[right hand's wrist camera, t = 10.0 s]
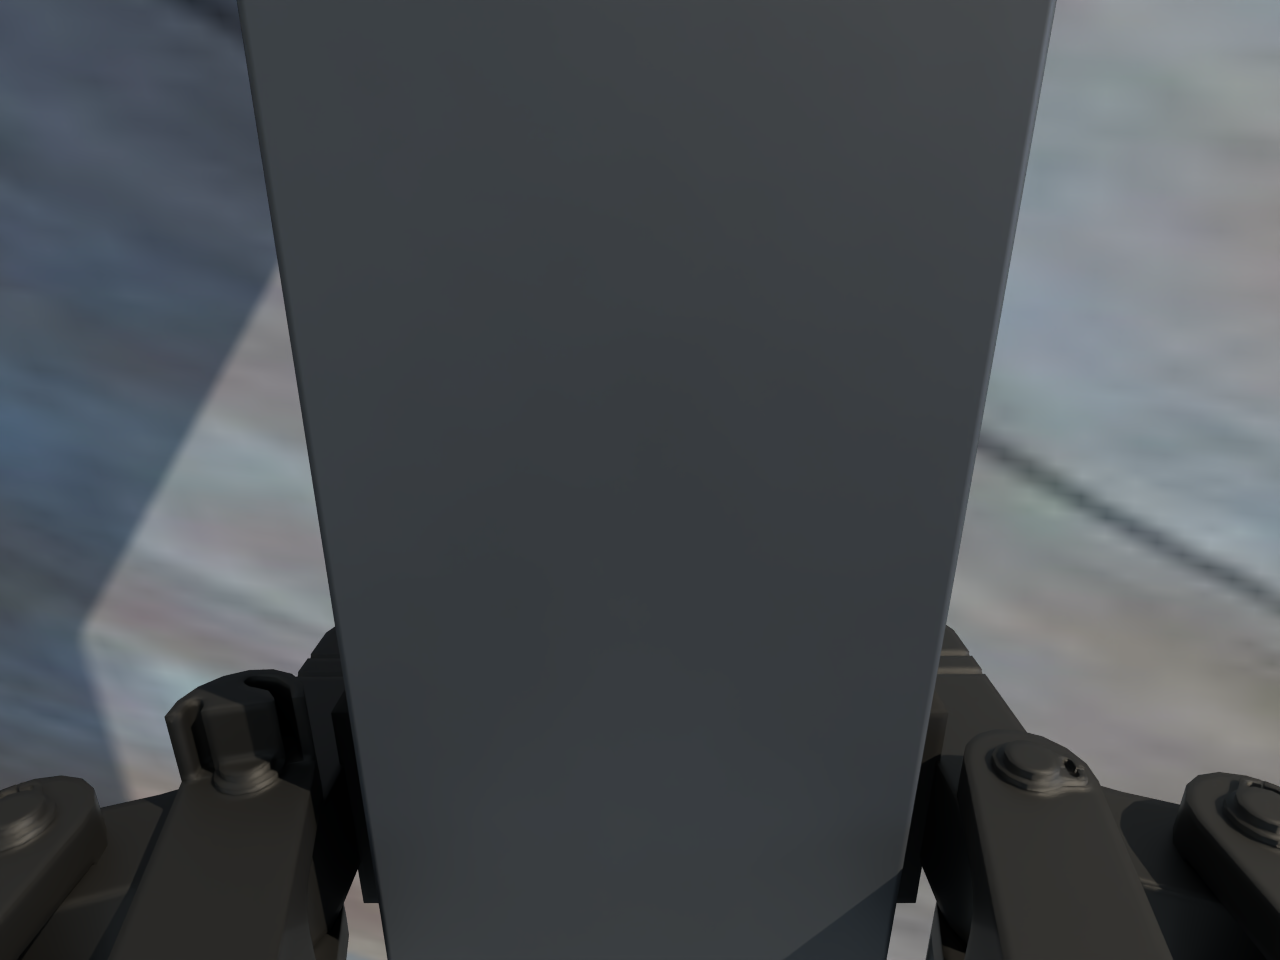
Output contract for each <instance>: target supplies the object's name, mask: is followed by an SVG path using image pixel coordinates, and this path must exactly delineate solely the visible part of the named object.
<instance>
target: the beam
mask: <svg viewBox="0 0 1280 960" xmlns="http://www.w3.org/2000/svg"><path fill="white" fill-rule="evenodd" d="M1056 1H1057V0H237V5H238V11H239V17H240V24H241V30H242V37H243V43H244V49H245V56H246V62H247V68H248V75H249V81H250V87H251V94H252V100H253V107H254V113H255V119H256V126H257V132H258V138H259V145H260V151H261V157H262V164H263V170H264V176H265V183H266V189H267V196H268V202H269V208H270V215H271V221H272V227H273V234H274V240H275V246H276V253H277V259H278V266H279V272H280V278H281V285H282V291H283V297H284V304H285V310H286V316H287V323H288V329H289V335H290V342H291V348H292V355H293V361H294V367H295V374H296V380H297V386H298V393H299V399H300V405H301V412H302V418H303V424H304V431H305V437H306V444H307V450H308V456H309V463H310V469H311V475H312V482H313V488H314V494H315V501H316V507H317V514H318V520H319V526H320V533H321V539H322V545H323V552H324V558H325V564H326V571H327V577H328V583H329V590H330V596H331V603H332V609H333V615H334V622H335V628H336V634H337V641H338V647H339V653H340V660H341V666H342V672H343V679H344V685H345V692H346V698H347V704H348V711H349V717H350V723H351V730H352V736H353V742H354V749H355V755H356V762H357V768H358V774H359V781H360V787H361V793H362V800H363V806H364V812H365V819H366V825H367V831H368V838H369V844H370V851H371V857H372V863H373V870H374V876H375V882H376V889H377V895H378V901H379V908H380V914H381V920H382V927H383V933H384V940H385V946H386V952H387V959H388V960H886V959H887V953H888V948H889V942H890V937H891V931H892V925H893V920H894V914H895V908H896V903H897V897H898V891H899V886H900V880H901V875H902V869H903V863H904V858H905V852H906V846H907V841H908V835H909V829H910V824H911V818H912V813H913V807H914V801H915V796H916V790H917V784H918V779H919V773H920V767H921V762H922V756H923V751H924V745H925V739H926V734H927V728H928V722H929V717H930V711H931V706H932V700H933V694H934V689H935V683H936V677H937V672H938V666H939V660H940V655H941V649H942V644H943V638H944V632H945V627H946V621H947V615H948V610H949V604H950V598H951V593H952V587H953V582H954V576H955V570H956V565H957V559H958V553H959V548H960V542H961V536H962V531H963V525H964V520H965V514H966V508H967V503H968V497H969V491H970V486H971V480H972V474H973V469H974V463H975V458H976V452H977V446H978V441H979V435H980V429H981V424H982V418H983V413H984V407H985V401H986V396H987V390H988V384H989V379H990V373H991V367H992V362H993V356H994V351H995V345H996V339H997V334H998V328H999V322H1000V317H1001V311H1002V305H1003V300H1004V294H1005V289H1006V283H1007V277H1008V272H1009V266H1010V260H1011V255H1012V249H1013V243H1014V238H1015V232H1016V227H1017V221H1018V215H1019V210H1020V204H1021V198H1022V193H1023V187H1024V181H1025V176H1026V170H1027V165H1028V159H1029V153H1030V148H1031V142H1032V136H1033V131H1034V125H1035V120H1036V114H1037V108H1038V103H1039V97H1040V91H1041V86H1042V80H1043V74H1044V69H1045V63H1046V58H1047V52H1048V46H1049V41H1050V35H1051V29H1052V24H1053V18H1054V12H1055V7H1056Z"/></svg>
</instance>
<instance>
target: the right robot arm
mask: <svg viewBox="0 0 1280 960" xmlns="http://www.w3.org/2000/svg"><path fill="white" fill-rule="evenodd" d="M165 721H166V724H167V728H168V732H169V735H170V739H171V743H172V747H173V750H174V754H175V758H176V762H177V765H178V769H179V773H180V777H181V780H182V783H181V785H180V787H179V789H178V790H174V791H171V792H168V793H164V794H161V795H157V796H152V797H148V798H143V799H139V800H134V801H130V802H125V803H121V804H116V805H112V806H107V807H103V808H100V806H99V803H98V800H97V797H96V794H95V791H94V788H93V787H92V786H90V785H89V784H88V783H87V782H86V781H84V780H83V779H81V778H74V777H68V776H54V777H47V778H39V779H33V780H30V781H27V782H23V783H20V784H18V785H14V786H11V787H8V788H6V789H3V790H1V791H0V960H346V957H347V947H348V938H349V932H348V925H347V918H346V912H345V907H344V901H345V899H346V896H347V894H348V891H349V889H350V887H351V884H352V882H353V879H354V877H355V875H356V872H357V870H358V872H359V878H360V884H361V889H362V895H363V901H364V903H379V901H378V895H377V889H376V882H375V876H374V870H373V863H372V857H371V851H370V844H369V838H368V831H367V825H366V819H365V812H364V806H363V800H362V793H361V787H360V781H359V774H358V768H357V762H356V755H355V749H354V742H353V736H352V730H351V723H350V717H349V711H348V704H347V698H346V692H345V685H344V679H343V672H342V666H341V660H340V653H339V647H338V641H337V634H336V628H335V627H334V628H332V629H331V630H329V631H328V632H326V634H325V635H324V636H323V638H322V639H321V641H320V642H319V643H318V645H317V646H316V648H315V649H314V651H313V652H312V653H311V658H308V659H307V660H306V662H305V663H304V665H303V666H302V667H301V669H300V670H299V672H298V677H295V676H294V675H293V674H290V673H286V672H282V671H278V670H274V669H268V670H248V671H243V672H239V673H235V674H230V675H226V676H223V677H220V678H218V679H215V680H213V681H211V682H208V683H206V684H204V685H201V686H199V687H197V688H196V689H194V690H193V691H191V692H190V693H188V694H187V695H186V696H184V697H183V698H181V699H180V700H178V701H177V702H176V703H175V705H174V706H173V707H172V708H171V710H170V711H169V712H168V713H167V714H166V716H165ZM922 867H923V870H924V872H925V874H926V877H927V879H928V882H929V884H930V886H931V889H932V891H933V894H934V896H935V898H936V901H937V902H936V907H935V912H934V918H933V923H932V928H931V934H930V939H929V945H928V950H927V955H926V960H1280V787H1279V786H1276V785H1274V784H1271V783H1268V782H1266V781H1261V780H1259V779H1255V778H1252V777H1249V776H1244V775H1237V774H1229V773H1222V772H1217V773H1210V774H1203V775H1198V776H1197V777H1195V778H1194V779H1193V780H1192V781H1191V782H1189V783H1188V784H1187V785H1186V788H1185V791H1184V794H1183V798H1182V801H1181V804H1180V805H1179V804H1174V803H1170V802H1165V801H1161V800H1156V799H1152V798H1147V797H1143V796H1138V795H1134V794H1129V793H1124V792H1120V791H1117V790H1113V789H1110V788H1106V787H1103V786H1100V784H1099V781H1098V780H1097V778H1096V777H1095V775H1094V774H1093V772H1092V771H1091V770H1090V768H1089V767H1088V765H1087V764H1086V763H1085V762H1084V761H1082V760H1081V759H1080V758H1079V757H1077V756H1076V755H1075V754H1073V753H1072V752H1071V751H1070V750H1068V749H1067V748H1065V747H1063V746H1061V745H1059V744H1057V743H1055V742H1053V741H1051V740H1049V739H1047V738H1044V737H1042V736H1038V735H1034V734H1031V733H1027V732H1026V731H1025V729H1024V728H1023V726H1022V725H1021V724H1020V722H1019V721H1018V719H1017V718H1016V717H1015V715H1014V714H1013V712H1012V711H1011V710H1010V708H1009V707H1008V705H1007V704H1006V703H1005V701H1004V700H1003V698H1002V697H1001V696H1000V694H999V693H998V691H997V690H996V689H995V687H994V686H993V684H992V683H991V682H990V680H989V679H988V677H987V676H986V675H985V674H982V669H981V668H980V666H979V665H978V663H977V662H976V661H975V659H974V658H973V656H969V651H968V649H967V648H966V647H965V645H964V644H963V642H962V641H961V640H960V638H959V637H958V636H957V634H956V633H955V631H954V630H953V629H951V628H950V627H948V626H947V625H946V627H945V632H944V638H943V644H942V649H941V655H940V660H939V666H938V672H937V677H936V683H935V689H934V694H933V700H932V706H931V711H930V717H929V722H928V728H927V734H926V739H925V745H924V751H923V756H922V762H921V767H920V773H919V779H918V784H917V790H916V796H915V801H914V807H913V813H912V818H911V824H910V829H909V835H908V841H907V846H906V852H905V858H904V863H903V869H902V875H901V880H900V886H899V891H898V897H897V903H916V898H917V892H918V886H919V880H920V875H921V869H922Z"/></svg>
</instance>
